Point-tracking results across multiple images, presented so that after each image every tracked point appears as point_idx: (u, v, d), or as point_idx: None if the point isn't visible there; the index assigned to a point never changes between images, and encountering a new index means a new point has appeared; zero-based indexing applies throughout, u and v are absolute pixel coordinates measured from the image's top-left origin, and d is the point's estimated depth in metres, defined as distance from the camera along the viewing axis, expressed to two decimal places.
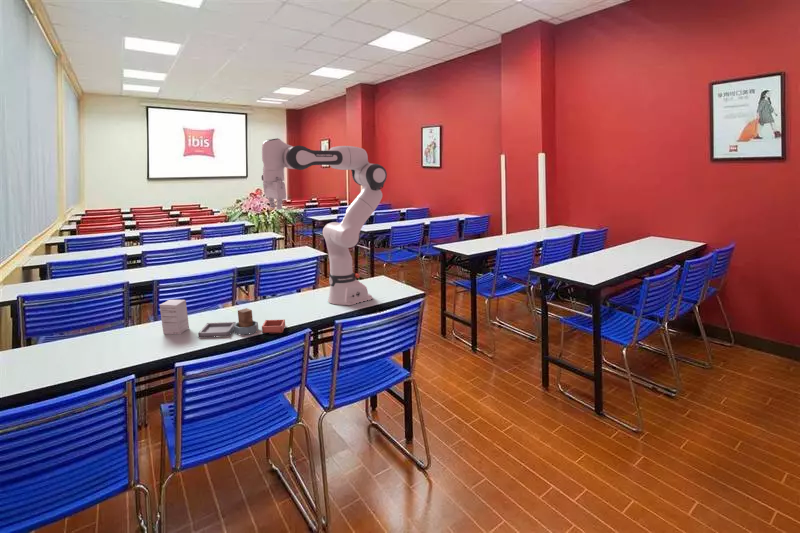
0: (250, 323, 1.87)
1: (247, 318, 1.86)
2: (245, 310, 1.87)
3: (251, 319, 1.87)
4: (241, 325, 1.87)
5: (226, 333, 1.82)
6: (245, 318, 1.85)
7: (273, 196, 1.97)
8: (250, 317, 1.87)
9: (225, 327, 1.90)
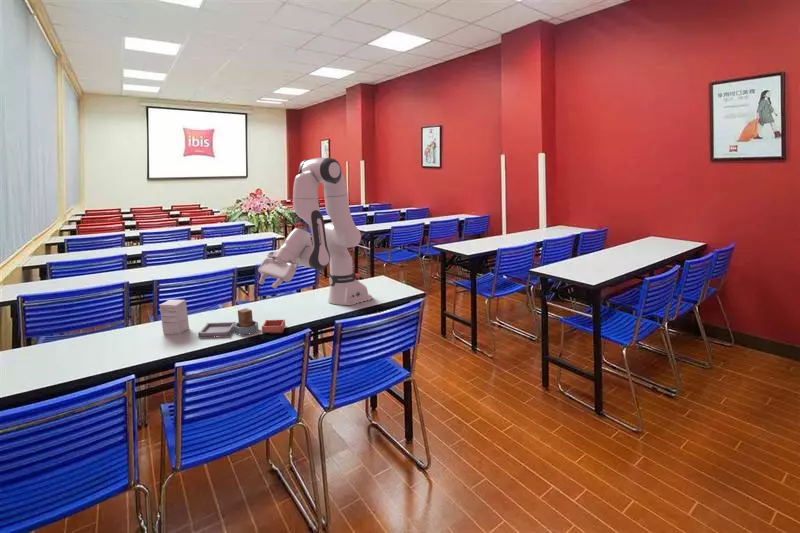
0: (250, 323, 1.87)
1: (247, 318, 1.86)
2: (245, 310, 1.87)
3: (251, 319, 1.87)
4: (241, 325, 1.87)
5: (226, 333, 1.82)
6: (245, 318, 1.85)
7: (276, 273, 1.92)
8: (250, 317, 1.87)
9: (225, 327, 1.90)
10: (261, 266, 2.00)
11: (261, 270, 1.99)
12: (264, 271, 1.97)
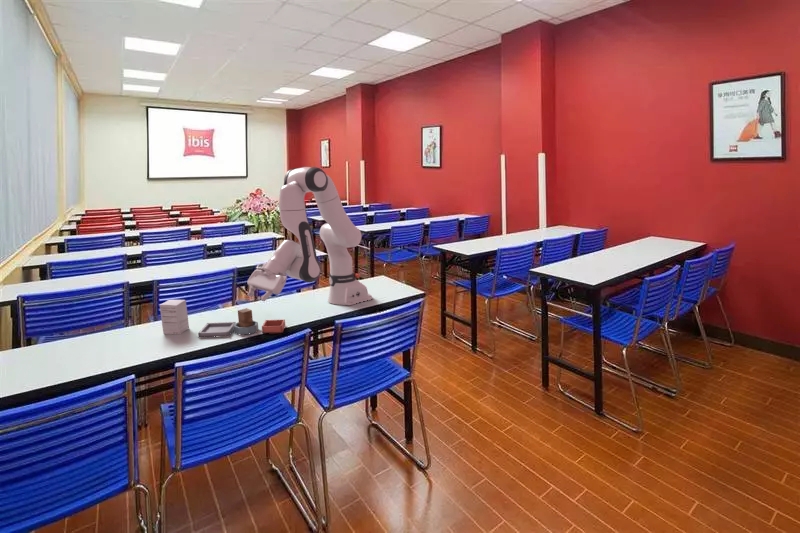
0: (250, 323, 1.87)
1: (247, 318, 1.86)
2: (245, 310, 1.87)
3: (251, 319, 1.87)
4: (241, 325, 1.87)
5: (226, 333, 1.82)
6: (245, 318, 1.85)
7: (265, 286, 1.88)
8: (250, 317, 1.87)
9: (225, 327, 1.90)
10: (250, 278, 1.97)
11: (250, 282, 1.95)
12: (253, 283, 1.93)
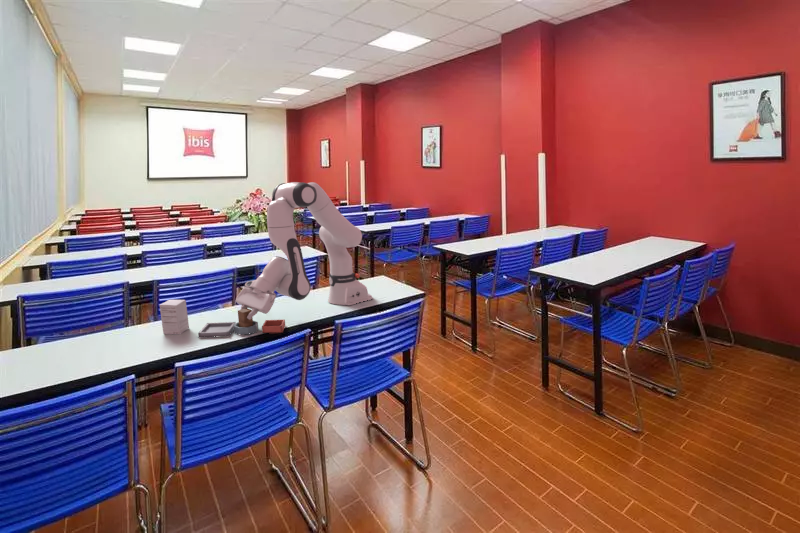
0: (250, 323, 1.87)
1: None
2: (245, 310, 1.87)
3: (251, 319, 1.87)
4: (241, 325, 1.87)
5: (226, 333, 1.82)
6: (245, 318, 1.85)
7: (253, 305, 1.86)
8: None
9: (225, 327, 1.90)
10: (239, 296, 1.94)
11: (238, 300, 1.92)
12: (241, 302, 1.91)
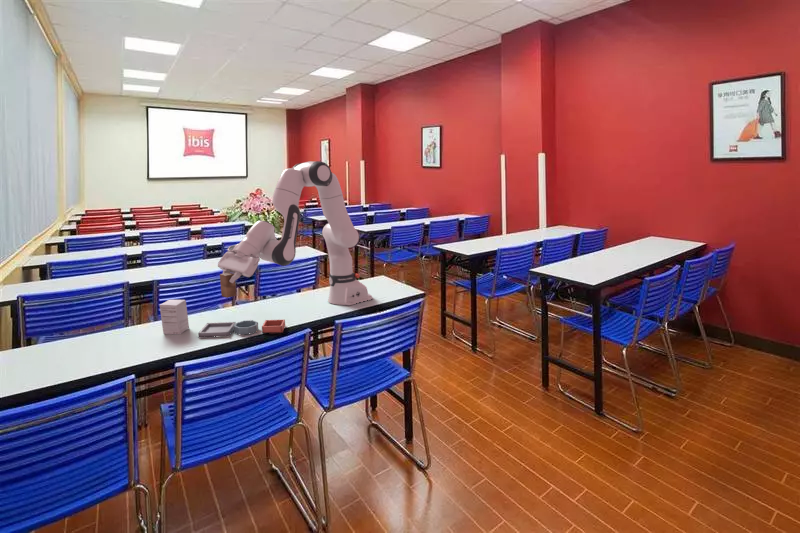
0: (233, 287, 1.81)
1: None
2: (227, 274, 1.80)
3: (234, 283, 1.81)
4: (223, 289, 1.80)
5: (226, 333, 1.82)
6: (228, 281, 1.79)
7: (236, 268, 1.80)
8: None
9: (225, 327, 1.90)
10: (221, 261, 1.87)
11: (220, 265, 1.86)
12: (224, 266, 1.84)
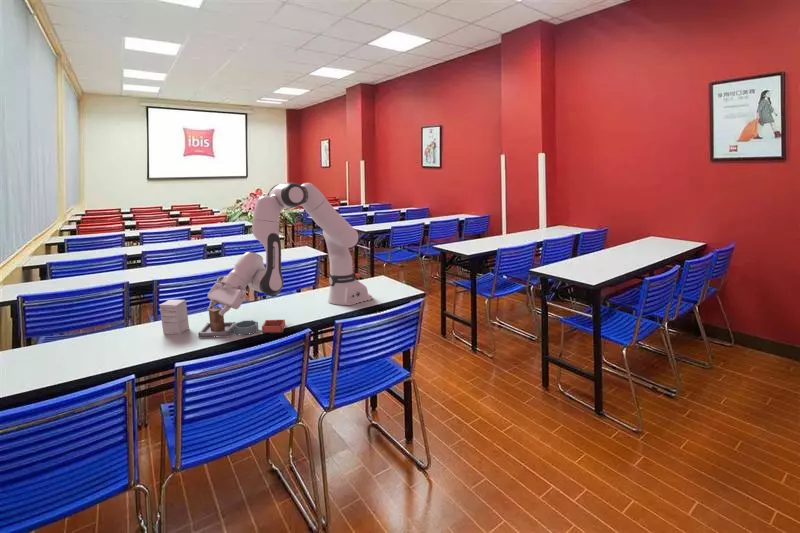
0: (221, 322, 1.86)
1: (218, 317, 1.85)
2: (216, 309, 1.85)
3: (222, 318, 1.86)
4: (212, 324, 1.85)
5: (226, 333, 1.82)
6: (216, 317, 1.84)
7: (224, 300, 1.84)
8: (221, 316, 1.86)
9: (225, 327, 1.90)
10: (210, 292, 1.92)
11: (210, 296, 1.90)
12: (213, 297, 1.89)
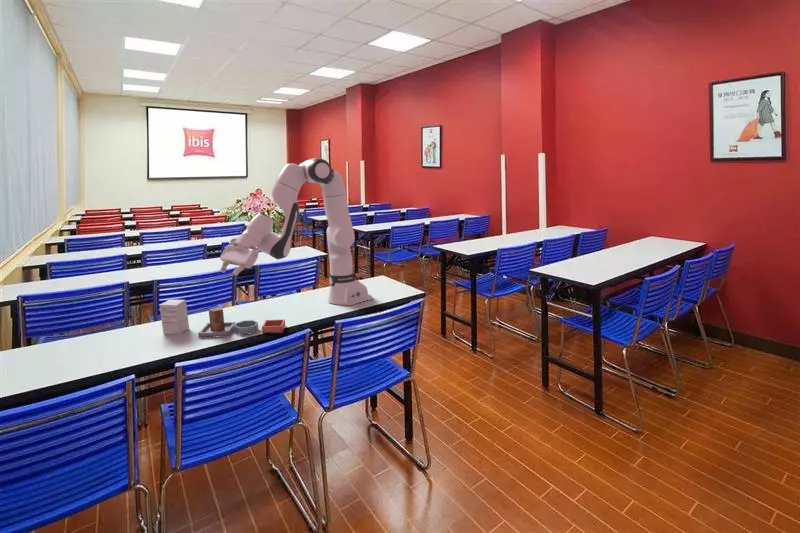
0: (221, 322, 1.86)
1: (218, 317, 1.85)
2: (216, 309, 1.85)
3: (222, 318, 1.86)
4: (212, 324, 1.85)
5: (226, 333, 1.82)
6: (216, 317, 1.84)
7: (237, 260, 1.85)
8: (221, 316, 1.86)
9: (225, 327, 1.90)
10: (223, 254, 1.93)
11: (223, 258, 1.92)
12: (226, 258, 1.90)
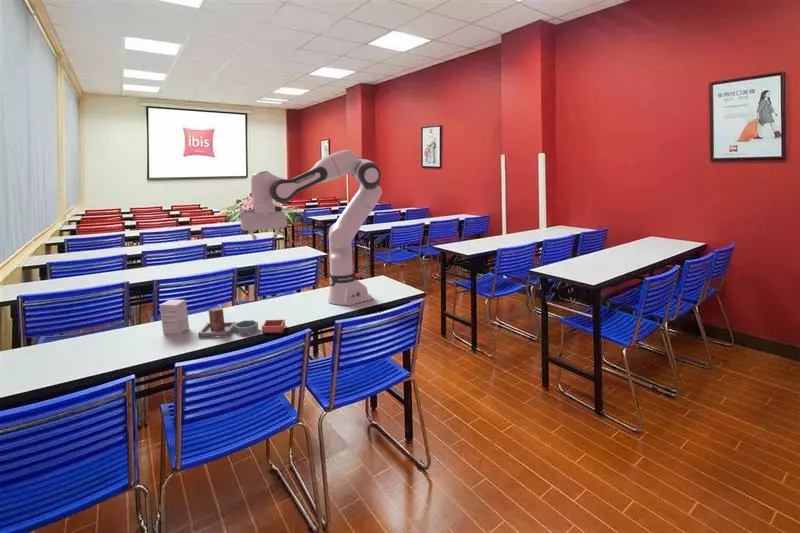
0: (221, 322, 1.86)
1: (218, 317, 1.85)
2: (216, 309, 1.85)
3: (222, 318, 1.86)
4: (212, 324, 1.85)
5: (226, 333, 1.82)
6: (216, 317, 1.84)
7: None
8: (221, 316, 1.86)
9: (225, 327, 1.90)
10: None
11: None
12: None
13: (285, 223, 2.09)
